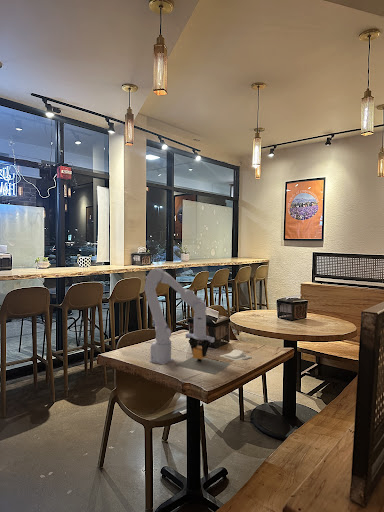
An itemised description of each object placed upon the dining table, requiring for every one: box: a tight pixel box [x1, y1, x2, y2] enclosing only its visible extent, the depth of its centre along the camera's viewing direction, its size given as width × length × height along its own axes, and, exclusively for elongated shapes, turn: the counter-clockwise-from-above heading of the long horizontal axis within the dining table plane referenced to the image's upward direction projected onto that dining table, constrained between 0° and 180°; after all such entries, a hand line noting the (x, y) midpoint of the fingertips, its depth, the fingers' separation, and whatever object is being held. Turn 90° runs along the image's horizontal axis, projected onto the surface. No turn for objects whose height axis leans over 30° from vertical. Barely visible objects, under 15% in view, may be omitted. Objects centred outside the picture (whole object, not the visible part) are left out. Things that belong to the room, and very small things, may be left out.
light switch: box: [219, 349, 252, 362], centre depth 169 cm, size 11×4×13 cm
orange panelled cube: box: [192, 345, 207, 359], centre depth 162 cm, size 5×5×4 cm
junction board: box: [175, 356, 231, 375], centre depth 156 cm, size 20×16×1 cm
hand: (199, 355), depth 162 cm, fingers closed on orange panelled cube, 4 cm apart
